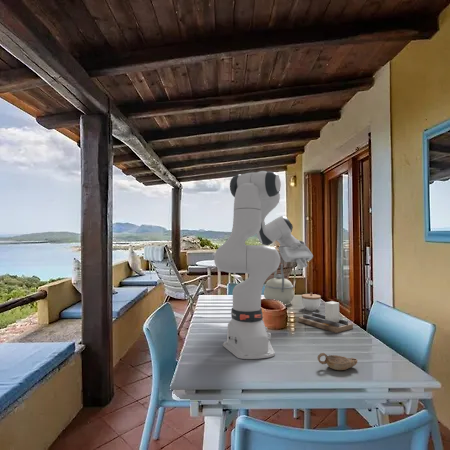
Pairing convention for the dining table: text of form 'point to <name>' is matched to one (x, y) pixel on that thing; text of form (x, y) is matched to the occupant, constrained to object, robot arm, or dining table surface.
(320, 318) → the switch housing
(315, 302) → the lidded jar
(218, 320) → the dining table surface
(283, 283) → the kettle
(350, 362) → the oil lamp
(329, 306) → the switch knob
